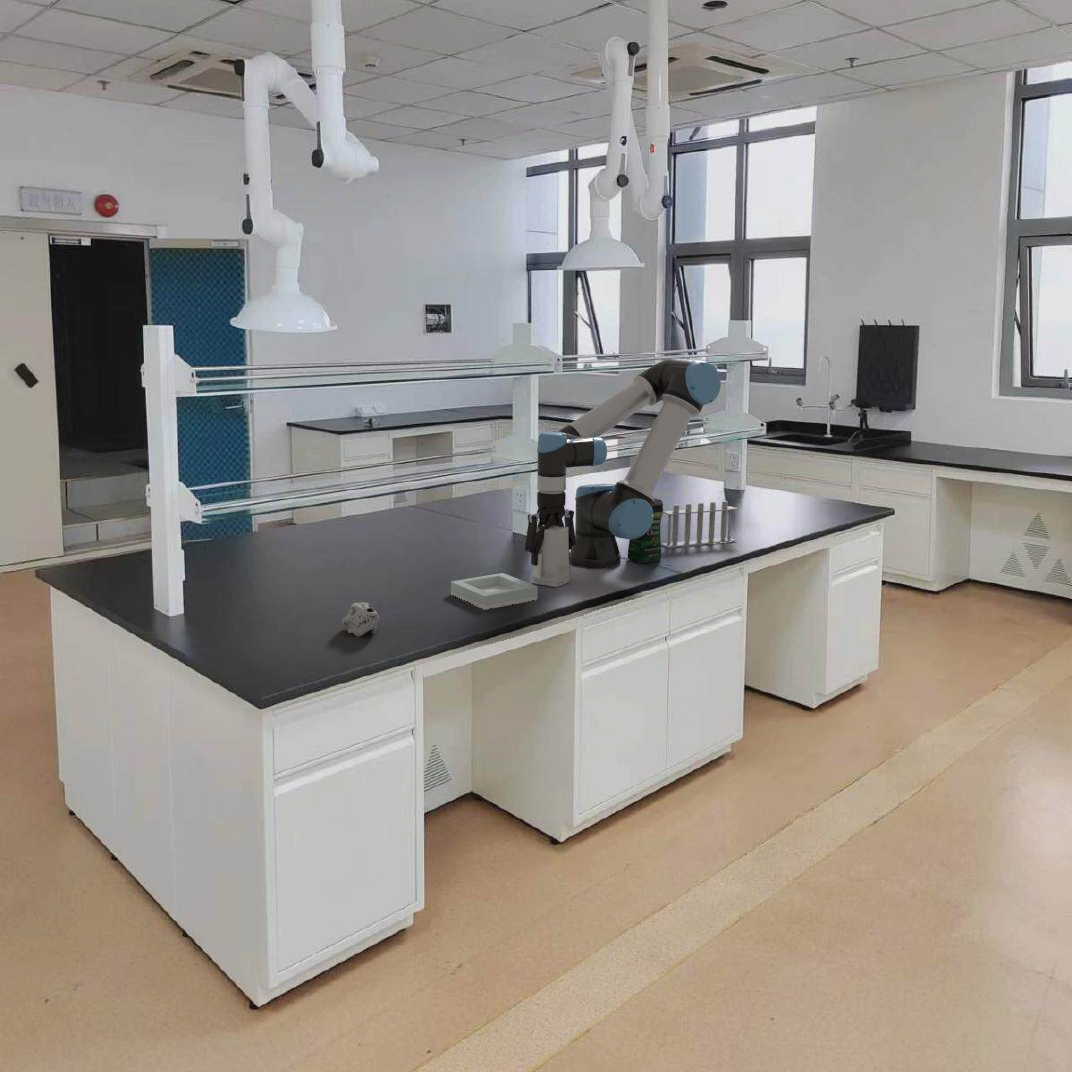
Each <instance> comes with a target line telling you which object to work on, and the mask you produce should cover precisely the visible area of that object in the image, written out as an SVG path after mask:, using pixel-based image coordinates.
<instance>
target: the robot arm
mask: <svg viewBox="0 0 1072 1072" xmlns="http://www.w3.org/2000/svg"><path fill="white" fill-rule="evenodd" d="M721 382H722V381H721V378H720V372H719V371H718V370H717V368H716V366H715V365H713V364H712V363H710V362H708V361H703V360H701V359H684V358H683V359H682V358H677V357H673V358H669V359H668V358H667V359H664V360H662V361H659V362H657V363H656V364H654V365H652V366H650V367H649V368H647V369H645V370H644V371H642V372H640V373H639V374H637V375H636V376H634V377H633V379H632V383H630V384H629V385H627V386H625V387H624V388H623V389H621V390H619V391H618V392H617V393H615V394H614V395H611V397H608V399H607V398H606V399H605V401H602V402H601V403H600V404H598V405H597V406H595V407H594V408H592V409H590V410H589V411H587V412H586V413H584V414H583V415H581V416H580V417H578V418H576V419H575V420H573V421H572V422H571V423H569V424H568V425H566V426H563V427H562V428H561V429H560V430H550V431H544V432H541V433H540V434H539V435H538V441H537V450H536V451H537V490H538V491H537V492H536V504H537V511H536V513H534V514H528V515H527V522H528V524H527V525H528V526H527V530H526V537H525V542H524V544H525V545H524V551H526V552H529V553H530V557H531V558H530V564H531V566H532V565H533V576H535V577H537V578H541V559H542V554H540V553H539V551H540V548H541V545H542V543H543V540H544V530H546V529H549V527H550V526H553V525H554V526H559V527H563V526H565V527H568V540H569V565H571V566H574V567H578V568H583V569H594V570H595V569H597V570H598V569H599V570H600V569H610V568H615V567H618V566H620V565H621V560H622V559H621V558H622V557H621V553H620V548H619V545H618V542H617V538H619V539H622V540H623V539H625V540H630V539H636V538H639V537H641V536H642V535H644V534H645V533H646V532H647V531H648V530H649V528H650V527H651V525H652V522H653V517H654V516H653V514H652V513H653V509H652V505H653V503H654V498H655V497H654V496H653V493H654V490H655V488H656V487H657V485H658V483H659V481H660V480H661V477H662V475H663V474H664V471H665V469H666V467H667V466H668V463H669V461H670V459H671V457H672V456H673V454H674V451H675V450H676V448H677V446H678V444H679V442H680V440H681V439H682V437H683V434H684V432H685V431H686V428H687V427H688V424H689V423H690V421H691V419H692V418H694V417H697V416H699V415H700V413H701V412H702V410H703V408H704V406H705V405H709V404H712V403H713V402H714V401H715V400H716V399H717V397H719V394H720V391H721V387H722V386H721V384H722V383H721ZM661 401H662V402H663V403H662V406H661V408H660V410H659V412H658V413H657V416H656V418H655V420H654V421H653V423H652V425H651V427H650V429H649V431H648V433H647V435H646V437H645V439H644V441H643V443H642V445H641V447H640V448H639V451H638V452H637V454H636V456H635V458H634V460H633V461H632V464H631V466H630V468H629V470H628V472H627V473H626V476H625V477H624V479H621V480H619V481H617V482H616V483H615V484H614V483H594V484H583V485H580V486H578V487H577V488H576V492H575V499H574V500H575V510H572V509H569V508H567V509H566V508H565V506H566V498H567V497H566V492H565V491H566V490H567V469H569V468H579V467H581V468H582V467H594V466H600V465H602V464H604V463H605V461H606V459H607V457H608V447H607V444H606V442H605V440H604V439H603V438H602V437H600V436H602V435H604V434H606V432H608V431H610V430H611V429H612V428H614V427H616V426H617V425H619V424H621V423H622V422H623V421H625V420H626V419H628V418H630V417H631V416H632V415H634V414H635V413H637V412H639V411H640V410H641V409H643V408H645V407H646V406H649V407H650V406H654V405H656V404H657V403H659V402H661ZM574 515H575V518H574ZM563 517H564V521H563ZM574 519H575V522H574ZM543 525H544V526H543ZM537 526H538V528H539V529H540V530H539V531H538V532H537V533H536V531H537ZM616 537H617V538H616Z"/></svg>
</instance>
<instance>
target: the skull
mask: <svg viewBox="0 0 1072 1072" xmlns="http://www.w3.org/2000/svg"><path fill="white" fill-rule="evenodd" d="M378 621H380V616H379V614H378V612H377V611H376V610H375V609H374V608H373V607H370V603H368V602H365V601H364V602H363V601H361V602H353V603H352V604H351V606H350V609H349V610H348V612H347V615H346V616H344V617H342V619H341V622H342V625H343V627H344V628H345V629H347V633H348V634H354V636H355V637H357V638H359V637H361V636H363V635H365V634H366V633H367V632H369V631H372V632H373V633H376V631H377V626H378Z"/></svg>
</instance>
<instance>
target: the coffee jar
mask: <svg viewBox="0 0 1072 1072" xmlns="http://www.w3.org/2000/svg"><path fill="white" fill-rule="evenodd" d="M653 498H654V503H653V505H652V509H653V513H652V514H653V516H654V517H653V522H652V525H651V527H650V528H649V530H648V531H647V532H646V533H645V534H644V535H642V536H641V537H639V538H636V539H628V543H629V544H628V549H627V559H628V560H629V561H630V562H632V563H639V564H648V563H649V564H650V563H655V562H660V560H661V559H662V546H661V538H662V537H661V522H662V518H663V515H664V513H663V511H664V504H663V500H662V499H659V498H656V497H653Z"/></svg>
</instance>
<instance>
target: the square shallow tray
mask: <svg viewBox="0 0 1072 1072" xmlns="http://www.w3.org/2000/svg"><path fill="white" fill-rule="evenodd" d="M538 588H539V587H538V585H536V584H533V583H529V582H528V581H524V580H522V579H520V578H516V577H514V576H512V575H509V574H508V573H507V574H506V573H504V572H501V573H499V572H498V573H495V574H487V575H483V576H477V577H476V576H475V577H470V578H463V579H458V580H451V581H450V595H451V596H453V595H454V596H453V597H455V596H456V597H455V598H457V597H458V599H459V598H460V600H461V599H462V601H464V600H465V601H464V602H466V601H468V602H470V603H471V604H470V603H469V604H470V605H472V604H473V606H475V607H477V608H479V609H481V608H482V609H481V610H490V608H492V609H496V608H497V609H498V608H501V607H507V606H512V604H513V605H518V604H523V603H529V602H533V601H532V600H534V601H537V600H538V590H539V589H538ZM528 601H529V602H528ZM468 602H467V603H468Z"/></svg>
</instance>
